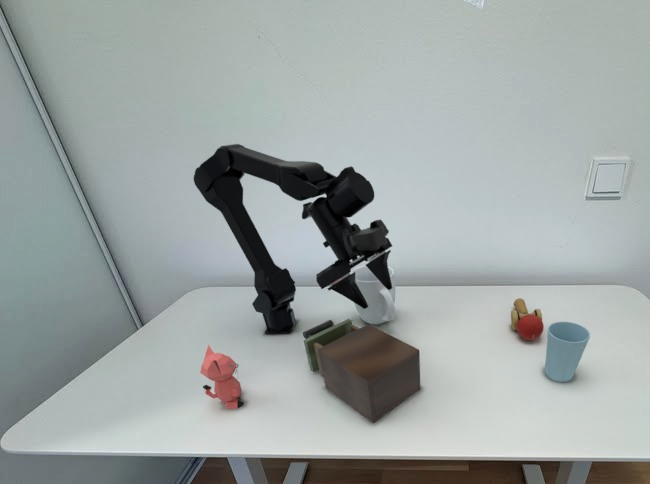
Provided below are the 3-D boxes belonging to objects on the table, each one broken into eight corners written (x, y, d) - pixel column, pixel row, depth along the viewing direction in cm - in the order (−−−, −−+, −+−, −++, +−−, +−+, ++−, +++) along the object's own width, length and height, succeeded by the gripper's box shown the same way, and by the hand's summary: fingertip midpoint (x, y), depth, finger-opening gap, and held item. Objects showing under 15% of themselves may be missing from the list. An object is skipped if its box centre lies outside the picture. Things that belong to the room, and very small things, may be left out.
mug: (413, 327, 94) (411, 279, 87) (374, 341, 89) (369, 291, 82) (384, 304, 105) (380, 260, 97) (348, 316, 100) (342, 270, 92)
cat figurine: (253, 405, 71) (235, 355, 65) (215, 420, 68) (191, 368, 62) (245, 386, 76) (227, 337, 70) (209, 398, 73) (187, 348, 67)
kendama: (500, 312, 102) (511, 340, 85) (507, 291, 99) (519, 315, 83) (528, 317, 102) (544, 346, 86) (535, 296, 99) (553, 321, 83)
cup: (575, 390, 73) (587, 346, 67) (536, 379, 76) (544, 336, 70) (580, 368, 78) (592, 326, 72) (543, 359, 81) (551, 318, 75)
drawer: (299, 362, 81) (291, 332, 77) (341, 341, 88) (336, 312, 84) (349, 399, 71) (344, 367, 66) (393, 372, 78) (390, 340, 73)
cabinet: (325, 388, 75) (317, 349, 70) (372, 360, 83) (368, 323, 77) (373, 423, 67) (367, 382, 61) (420, 389, 74) (419, 349, 69)
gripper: (330, 222, 59) (381, 305, 63) (389, 197, 73) (428, 266, 77) (293, 250, 66) (342, 323, 70) (354, 223, 80) (391, 285, 84)
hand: (379, 298), depth 75 cm, fingers open, 9 cm apart
